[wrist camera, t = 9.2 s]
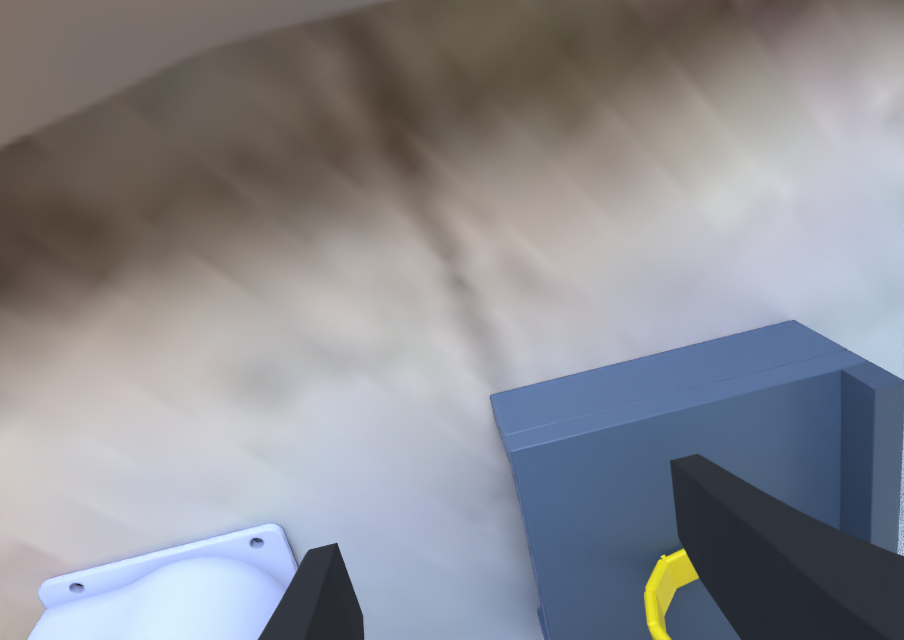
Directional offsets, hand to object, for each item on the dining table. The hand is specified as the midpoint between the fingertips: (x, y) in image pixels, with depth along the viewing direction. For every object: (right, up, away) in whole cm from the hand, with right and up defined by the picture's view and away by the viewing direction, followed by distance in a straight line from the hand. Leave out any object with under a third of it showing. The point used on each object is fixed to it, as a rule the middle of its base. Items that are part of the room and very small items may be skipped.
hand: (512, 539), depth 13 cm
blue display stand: (+7, -2, +13) cm, 15 cm away
